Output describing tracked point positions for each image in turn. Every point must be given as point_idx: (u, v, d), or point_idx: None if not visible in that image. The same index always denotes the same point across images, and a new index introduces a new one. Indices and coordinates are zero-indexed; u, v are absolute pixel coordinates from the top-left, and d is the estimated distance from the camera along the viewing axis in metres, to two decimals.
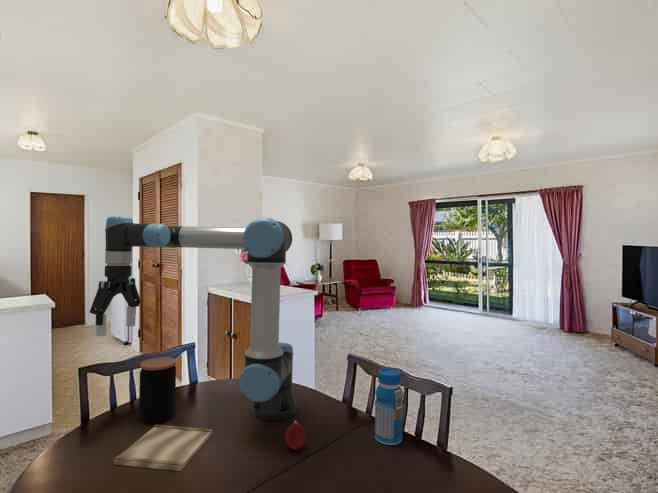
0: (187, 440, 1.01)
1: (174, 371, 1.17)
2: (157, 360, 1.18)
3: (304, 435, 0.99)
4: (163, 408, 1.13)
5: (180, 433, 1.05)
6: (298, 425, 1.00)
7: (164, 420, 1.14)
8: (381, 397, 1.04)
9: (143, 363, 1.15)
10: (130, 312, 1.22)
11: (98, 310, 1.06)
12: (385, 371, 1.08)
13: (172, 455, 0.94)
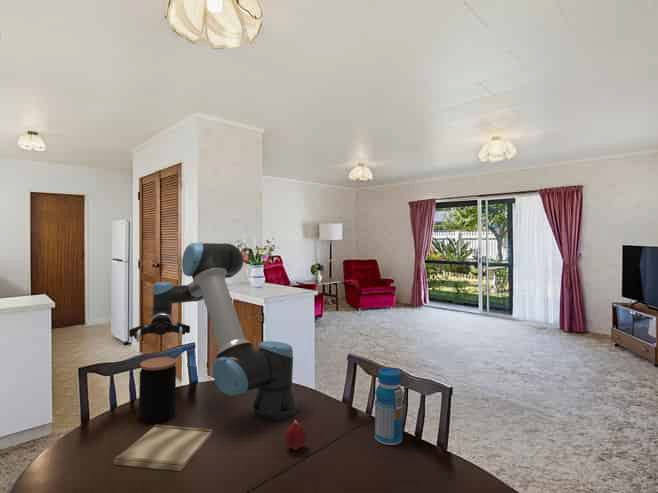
0: (187, 440, 1.01)
1: (174, 371, 1.17)
2: (157, 360, 1.18)
3: (304, 435, 0.99)
4: (163, 408, 1.13)
5: (180, 433, 1.05)
6: (298, 425, 1.00)
7: (164, 420, 1.14)
8: (381, 397, 1.04)
9: (143, 363, 1.15)
10: (179, 331, 1.32)
11: (131, 329, 1.29)
12: (385, 371, 1.08)
13: (172, 455, 0.94)
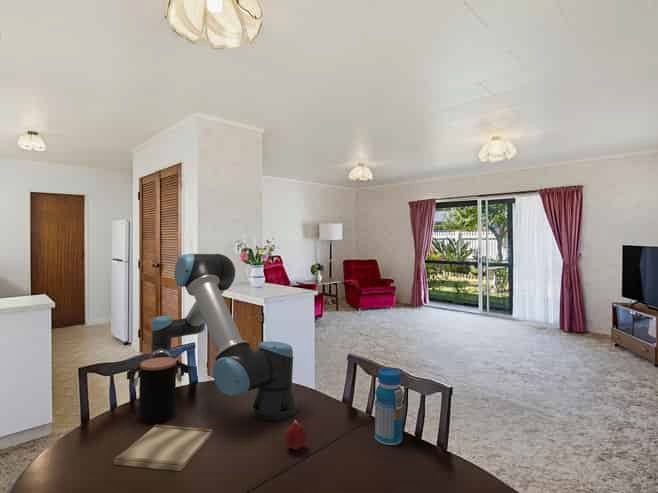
0: (187, 440, 1.01)
1: (174, 371, 1.17)
2: (157, 360, 1.18)
3: (304, 435, 0.99)
4: (163, 408, 1.13)
5: (180, 433, 1.05)
6: (298, 425, 1.00)
7: (164, 420, 1.14)
8: (381, 397, 1.04)
9: (143, 363, 1.15)
10: None
11: (128, 371, 1.27)
12: (385, 371, 1.08)
13: (172, 455, 0.94)
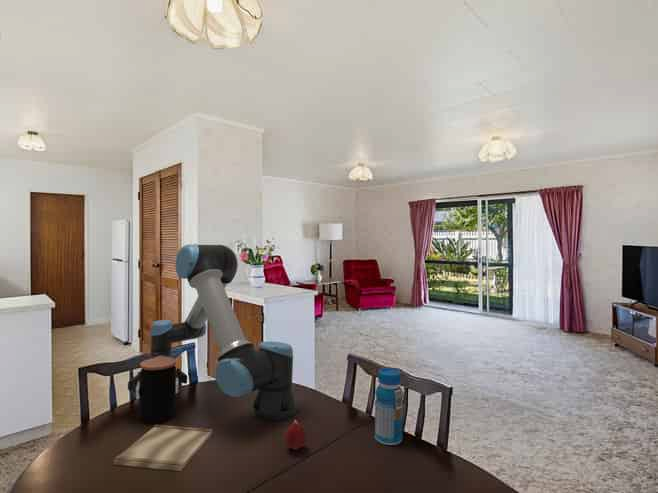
0: (187, 440, 1.01)
1: (174, 371, 1.17)
2: (157, 360, 1.18)
3: (304, 435, 0.99)
4: (163, 408, 1.13)
5: (180, 433, 1.05)
6: (298, 425, 1.00)
7: (164, 420, 1.14)
8: (381, 397, 1.04)
9: (143, 363, 1.15)
10: None
11: (129, 381, 1.17)
12: (385, 371, 1.08)
13: (172, 455, 0.94)
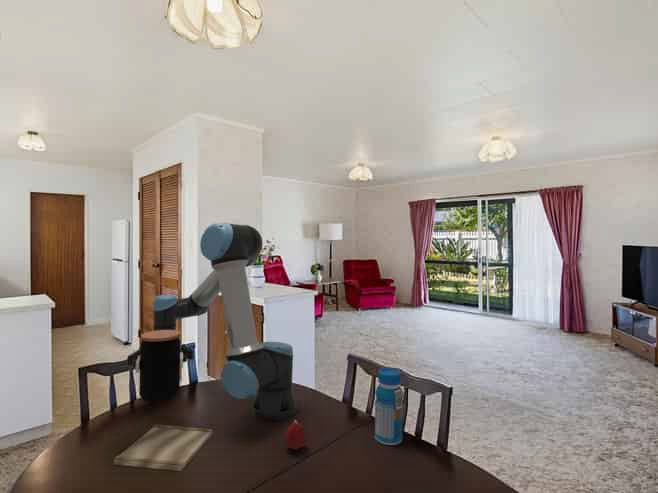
0: (187, 440, 1.01)
1: (178, 344, 1.05)
2: (159, 332, 1.06)
3: (304, 435, 0.99)
4: (166, 384, 1.01)
5: (180, 433, 1.05)
6: (298, 425, 1.00)
7: (167, 398, 1.02)
8: (381, 397, 1.04)
9: (144, 335, 1.03)
10: None
11: (129, 355, 1.06)
12: (385, 371, 1.08)
13: (172, 455, 0.94)
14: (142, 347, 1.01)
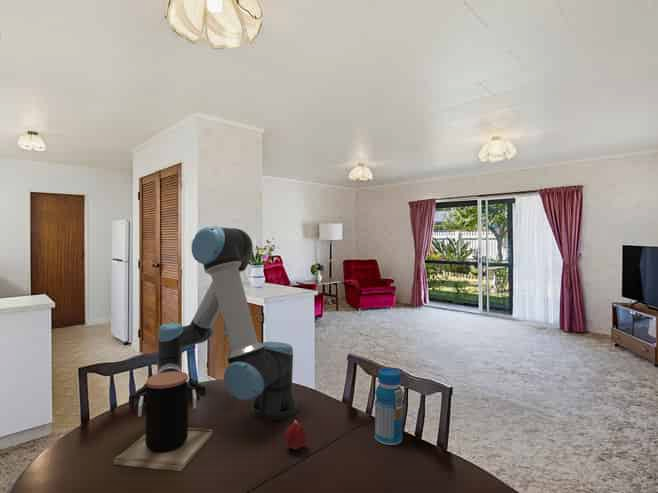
0: (187, 440, 1.01)
1: (186, 388, 1.00)
2: (165, 376, 1.01)
3: (304, 435, 0.99)
4: (174, 432, 0.96)
5: None
6: (298, 425, 1.00)
7: (176, 447, 0.96)
8: (381, 397, 1.04)
9: (149, 380, 0.98)
10: (192, 396, 1.03)
11: (131, 395, 1.00)
12: (385, 371, 1.08)
13: (172, 455, 0.94)
14: (148, 394, 0.95)
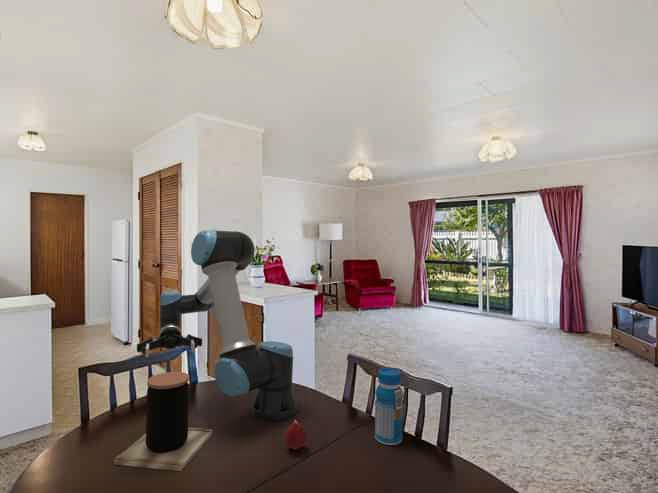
0: (187, 440, 1.01)
1: (187, 389, 1.00)
2: (167, 376, 1.01)
3: (304, 435, 0.99)
4: (175, 433, 0.96)
5: None
6: (298, 425, 1.00)
7: (176, 447, 0.96)
8: (381, 397, 1.04)
9: (151, 380, 0.98)
10: (191, 345, 1.22)
11: (138, 343, 1.19)
12: (385, 371, 1.08)
13: (172, 455, 0.94)
14: (149, 394, 0.95)
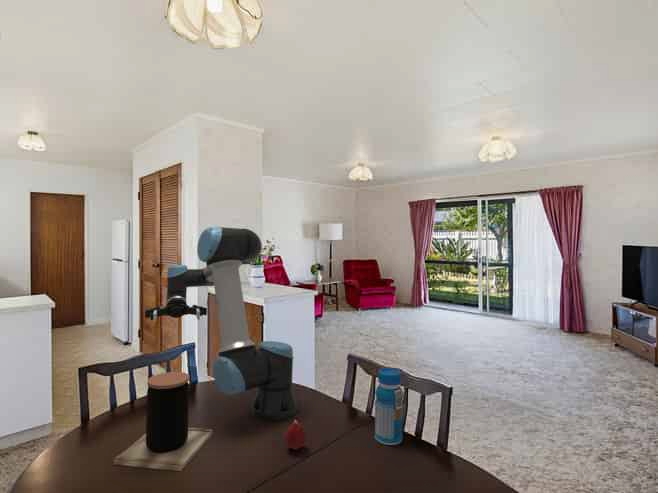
0: (187, 440, 1.01)
1: (187, 389, 1.00)
2: (167, 376, 1.01)
3: (304, 435, 0.99)
4: (175, 433, 0.96)
5: None
6: (298, 425, 1.00)
7: (176, 447, 0.96)
8: (381, 397, 1.04)
9: (151, 380, 0.98)
10: (196, 313, 1.27)
11: (146, 310, 1.24)
12: (385, 371, 1.08)
13: (172, 455, 0.94)
14: (149, 394, 0.95)
